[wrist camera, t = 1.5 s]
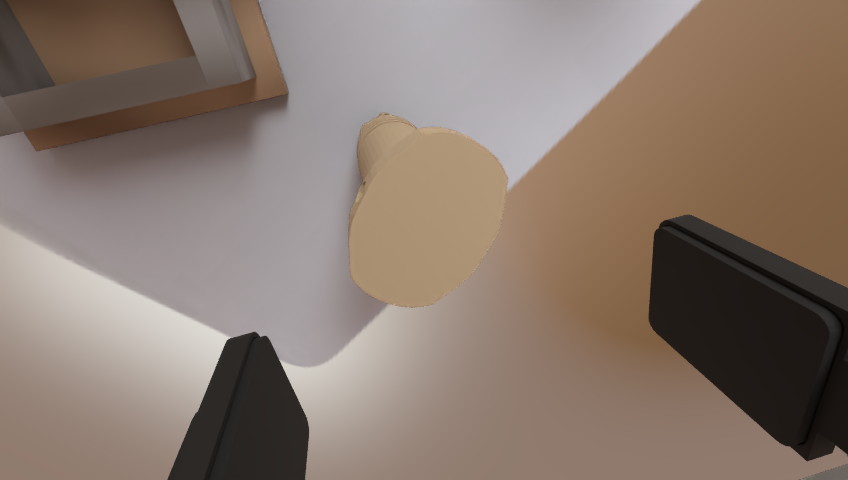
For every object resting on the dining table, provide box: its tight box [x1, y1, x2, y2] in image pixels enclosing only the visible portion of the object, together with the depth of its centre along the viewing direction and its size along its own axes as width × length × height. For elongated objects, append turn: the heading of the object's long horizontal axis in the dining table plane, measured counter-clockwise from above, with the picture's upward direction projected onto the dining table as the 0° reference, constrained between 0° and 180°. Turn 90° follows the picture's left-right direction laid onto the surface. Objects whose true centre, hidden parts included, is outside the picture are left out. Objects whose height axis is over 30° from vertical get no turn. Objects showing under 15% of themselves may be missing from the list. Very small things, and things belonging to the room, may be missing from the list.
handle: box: [349, 113, 508, 307], centre depth 20 cm, size 5×6×15 cm
